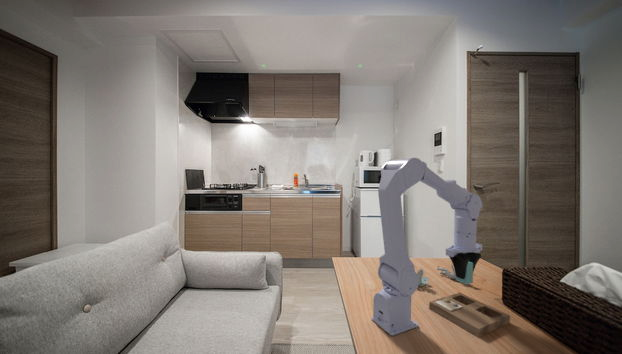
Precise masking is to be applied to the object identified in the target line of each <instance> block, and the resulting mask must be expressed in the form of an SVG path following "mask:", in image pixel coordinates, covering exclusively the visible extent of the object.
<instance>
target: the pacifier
mask: <svg viewBox="0 0 622 354" xmlns="http://www.w3.org/2000/svg"><path fill="white" fill-rule="evenodd" d="M416 274H417V275H418V278H419V284H418V287H417V288H420V287H421V288H422V287H423V286H425V285H428V283H429V279H428V277H426V276H424V269H422V268H419V269H418V270H417V272H416Z"/></svg>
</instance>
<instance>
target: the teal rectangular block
mask: <svg viewBox="0 0 622 354" xmlns="http://www.w3.org/2000/svg"><path fill="white" fill-rule="evenodd" d="M473 278H474V272H473V263H472V262H468V264H467V267H466V274H465V278H464V279H461V278H458V277H457V279H456V282H457V281H458V282H459V283H462V284H463V285H470V284H473V283H474V279H473Z"/></svg>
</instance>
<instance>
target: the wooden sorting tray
mask: <svg viewBox="0 0 622 354" xmlns="http://www.w3.org/2000/svg"><path fill="white" fill-rule="evenodd" d="M428 305H429V310H431V311H433V312H434V313H436V314H438V315H440V316H441V317H443V318H444V319H446V320H447V321H450V322H452V323H454V324H456V326H458V327H460V328H462V329H463V330H465V331H467V332H469V333H470V334H472V335H474V336H476V337H477V338H480V337H482V336H485V335H486V334H488V333H491V332H492V331H495V330H497V329H499V328H502V327H504V326H507V325H509V324H510V323H511V315H510V314H508V313H505V312H503V311H501V310H498V309H497V308H494V307H493V306H490V305H488V304H485V303H484V302H481V301H479V300H478V299H477V300H476V299H475V298H472V297H470V296H468V295H465V294H464V293H461V292H457V293H454V294H451V295H450V294H449V295H448V296H447V295H446V296H444V297H441V298H438V299H435V300H431V301H429V303H428Z"/></svg>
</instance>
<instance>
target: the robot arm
mask: <svg viewBox="0 0 622 354" xmlns="http://www.w3.org/2000/svg"><path fill="white" fill-rule="evenodd" d="M380 174H381V175H380V176H381V178H380V181H379V186H378V190H377V191H378V192H377V194H378V201H379V202H378V203H379V210H380V211H379V212H380V219H381V230H382V238H383V249H384V254H382V255H381V256H380V257H379V258H378V259H379V260H378V261H379V265H378V269H377V276H378V277H379V279H380V281H381V285H382V288H381V290H380V291H379V292H377V293H375V294H374V297H373V316H371V320H372V321H373V322H374V323H375V324H377V325H378V326H379V327H380V328H382V329H383V330H384V331H385V332H386V333H387V334H388V335H390V336H395V335H398V334H401V333H404V332H407V331H409V330H412V329H415V328H417V327H419V325H420V324H419V323H418V322H416V321H414V320H413V319H412V296H413V295H414V294H415V292H416V291H417V289H418V288H419V287H418V284H419V278H418V275H417V272H416V270H415V264H414V262H413V261H412V260H411V259H410V257H409V256H408V253H407V244H406V235H405V225H404V216H403V215H404V214H403V206H402V204H403V203H402V195H403V194H404V193H406V191H407V190H409V189H410V188H412V187H414V185H416V184H417V183H419V182H421V183H423V184H425V185H427V186H428V187H430V188H432V189H433V190H435V191H436V195H437V196H438V197H439V198H441V199H442V200H444V201H445V202H447V203H448V204H449V205H450V207H451V209H452V210H454V220H453V225H454V226H453V227H454V228H453V244H452V245H450V246H449V247H447V248H445V256H448V257H449V259H450V260H451V264H452V265H453V268H454V270H455V273H456V277H458V278H461V279H464V278H465V274H466V267H467V264H468V262H472V263H473V273H474V271H475V269H476V266H477V264H478V262H479V260H481V258H482V254H481V253H480V252H482V251H483V244H481V243H477V228H478V227H477V225H478V223H477V222H478V221H477V220H478V218H479V216H480V211H481V210H482V207H483V202H482V199H481V197H480V196H479V195H478V194H477V193H474V192H470V191H469V190H467V188H465V187H462V186H460V185H459V184H458V183H457V180H454V179H443V178H442V177H441V176H440V175H438V174H437V173H436V172H434V171H433V170H432V169H431V168H429V167H428V164H427V163H426V162H424V161H422V160H421V159H420V158H417V157H411V158H399V159H393V158H392V159H388V160H387V161H386V162H385V163H384V164H383V165H382V166H381V168H380Z"/></svg>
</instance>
